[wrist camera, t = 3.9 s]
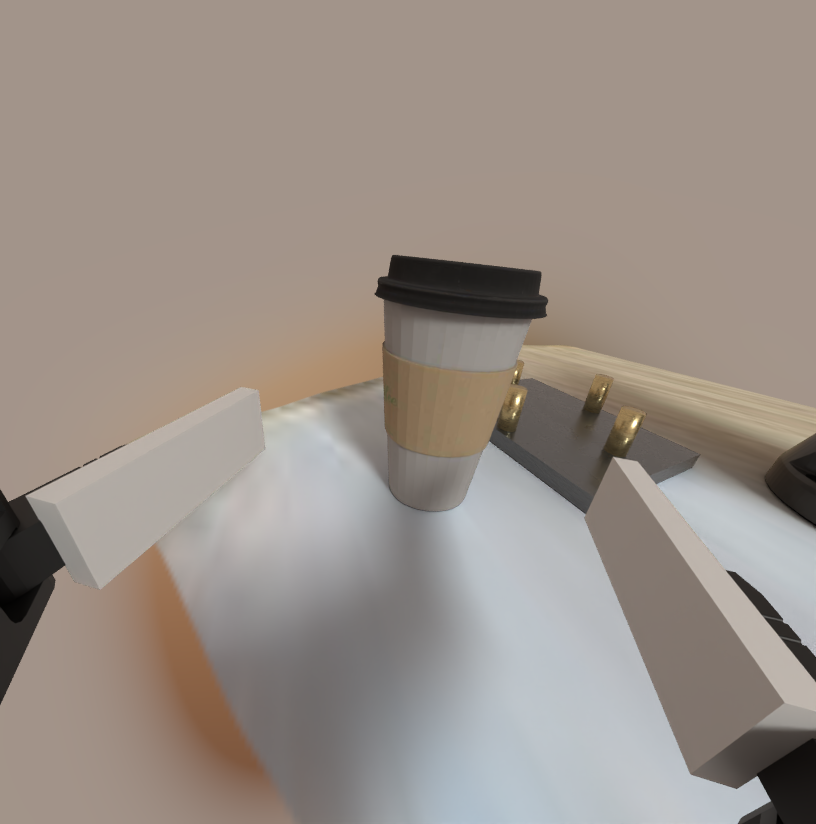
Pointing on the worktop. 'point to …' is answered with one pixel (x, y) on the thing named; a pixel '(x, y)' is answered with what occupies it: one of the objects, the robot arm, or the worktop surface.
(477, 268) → the coffee cup
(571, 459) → the pin plate
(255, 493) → the worktop surface
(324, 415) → the worktop surface
